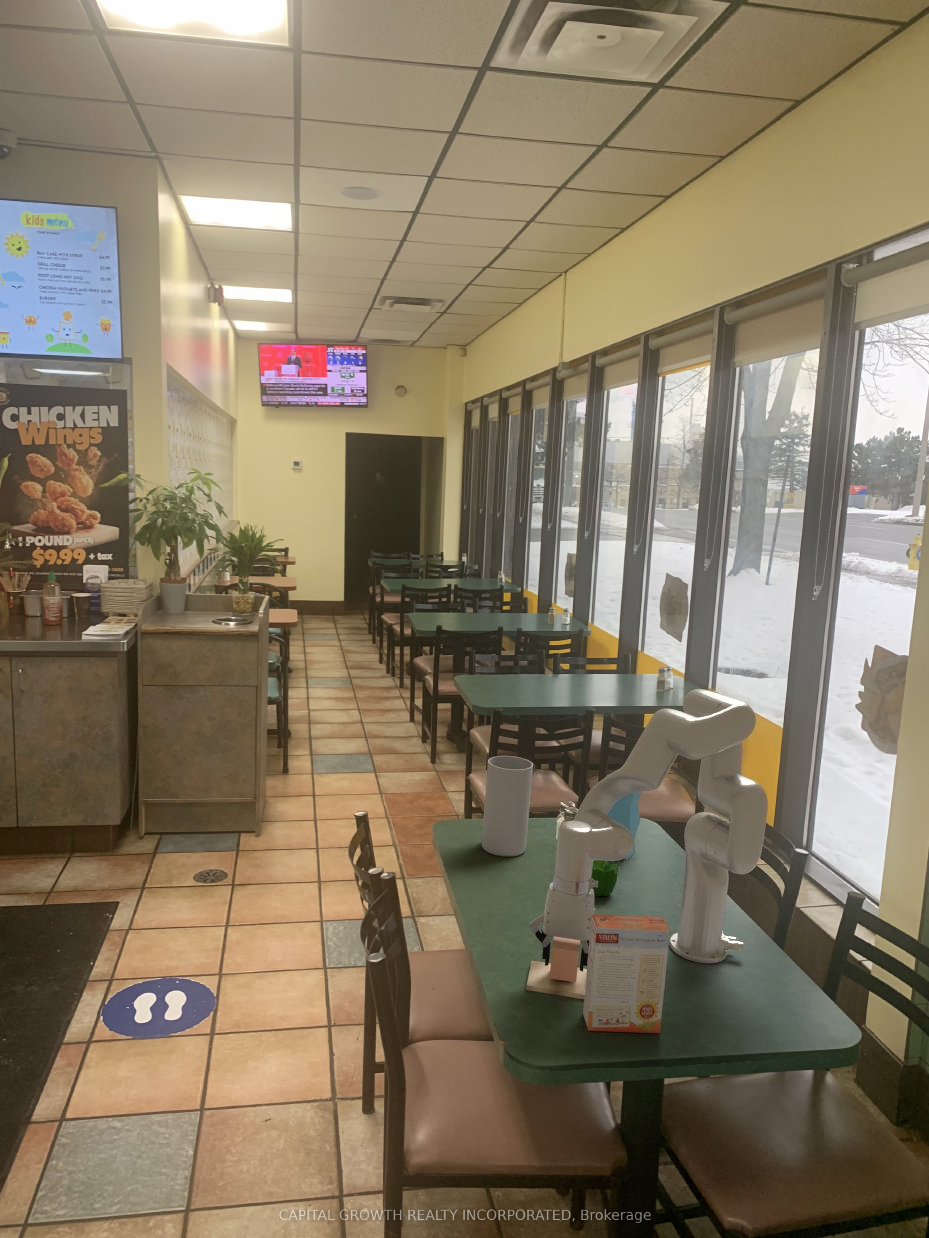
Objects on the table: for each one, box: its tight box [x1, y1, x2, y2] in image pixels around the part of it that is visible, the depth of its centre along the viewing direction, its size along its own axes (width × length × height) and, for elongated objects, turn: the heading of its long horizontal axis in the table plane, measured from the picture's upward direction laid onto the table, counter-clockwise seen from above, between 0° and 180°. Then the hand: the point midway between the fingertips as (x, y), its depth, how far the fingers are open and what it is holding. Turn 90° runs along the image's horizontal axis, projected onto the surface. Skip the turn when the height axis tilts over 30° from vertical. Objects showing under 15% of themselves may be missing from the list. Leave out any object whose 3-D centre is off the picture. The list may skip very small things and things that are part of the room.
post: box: [525, 960, 587, 1000], centre depth 183 cm, size 14×10×8 cm
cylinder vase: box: [481, 755, 534, 857], centre depth 249 cm, size 12×12×25 cm
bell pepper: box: [591, 860, 619, 897], centre depth 226 cm, size 8×8×10 cm
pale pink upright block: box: [550, 936, 581, 982], centre depth 183 cm, size 5×5×7 cm
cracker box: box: [582, 913, 671, 1034], centre depth 169 cm, size 14×6×21 cm, turn 92°
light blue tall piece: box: [607, 792, 642, 861], centre depth 253 cm, size 8×8×20 cm
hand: (564, 964), depth 183 cm, fingers open, 6 cm apart
